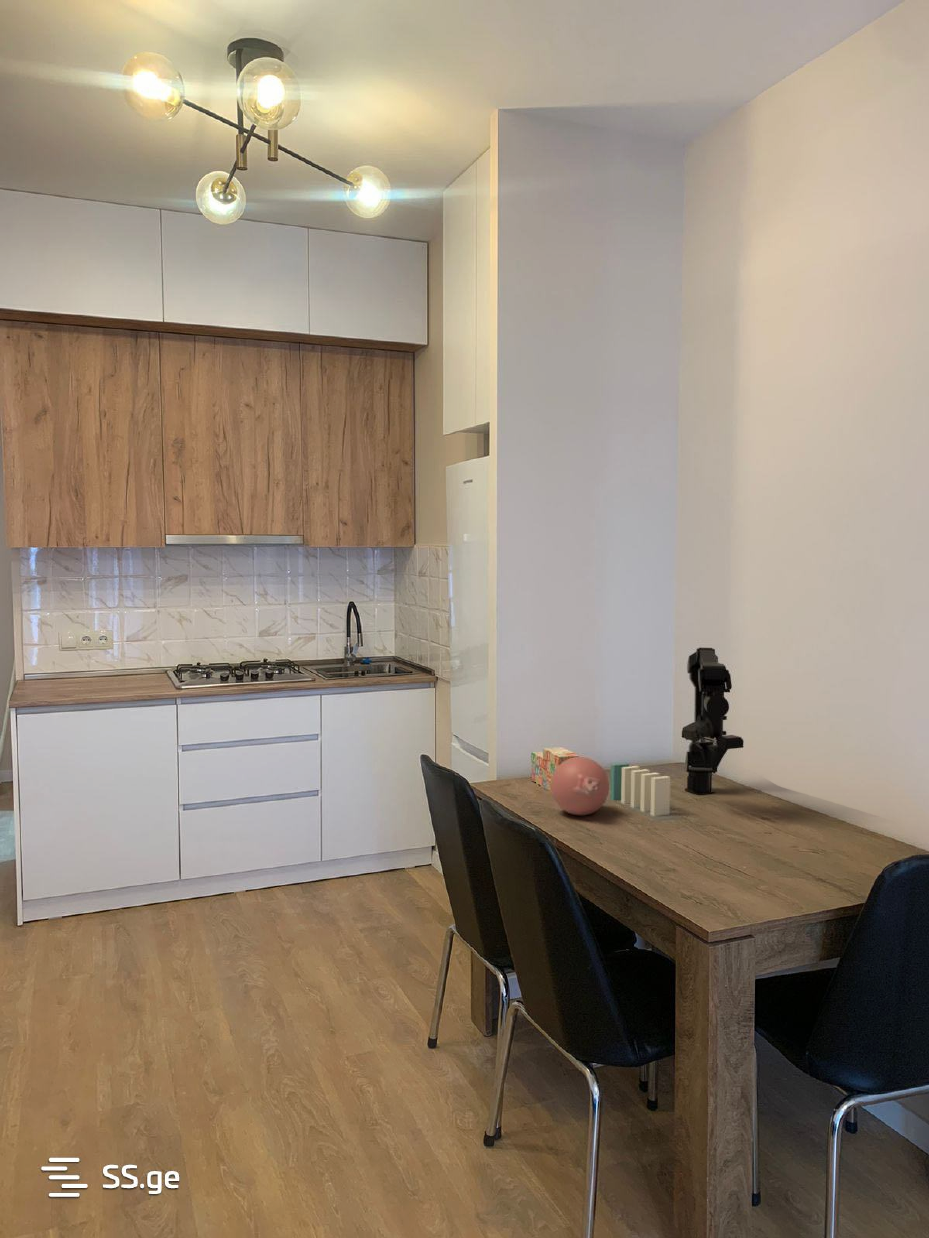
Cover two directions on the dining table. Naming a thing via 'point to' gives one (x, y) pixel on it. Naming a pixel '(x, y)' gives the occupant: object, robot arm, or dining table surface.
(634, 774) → the domino
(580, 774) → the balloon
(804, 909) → the dining table surface
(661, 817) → the domino mat
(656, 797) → the domino
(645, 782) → the domino
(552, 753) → the stack of blocks
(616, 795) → the teal domino
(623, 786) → the domino
